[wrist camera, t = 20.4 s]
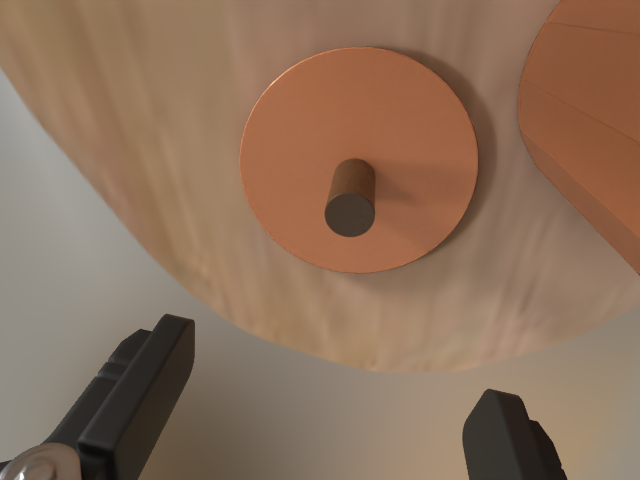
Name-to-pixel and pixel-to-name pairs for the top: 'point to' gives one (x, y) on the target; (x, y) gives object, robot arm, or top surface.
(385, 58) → the lid
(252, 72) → the top surface
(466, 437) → the robot arm
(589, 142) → the pot
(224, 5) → the top surface
